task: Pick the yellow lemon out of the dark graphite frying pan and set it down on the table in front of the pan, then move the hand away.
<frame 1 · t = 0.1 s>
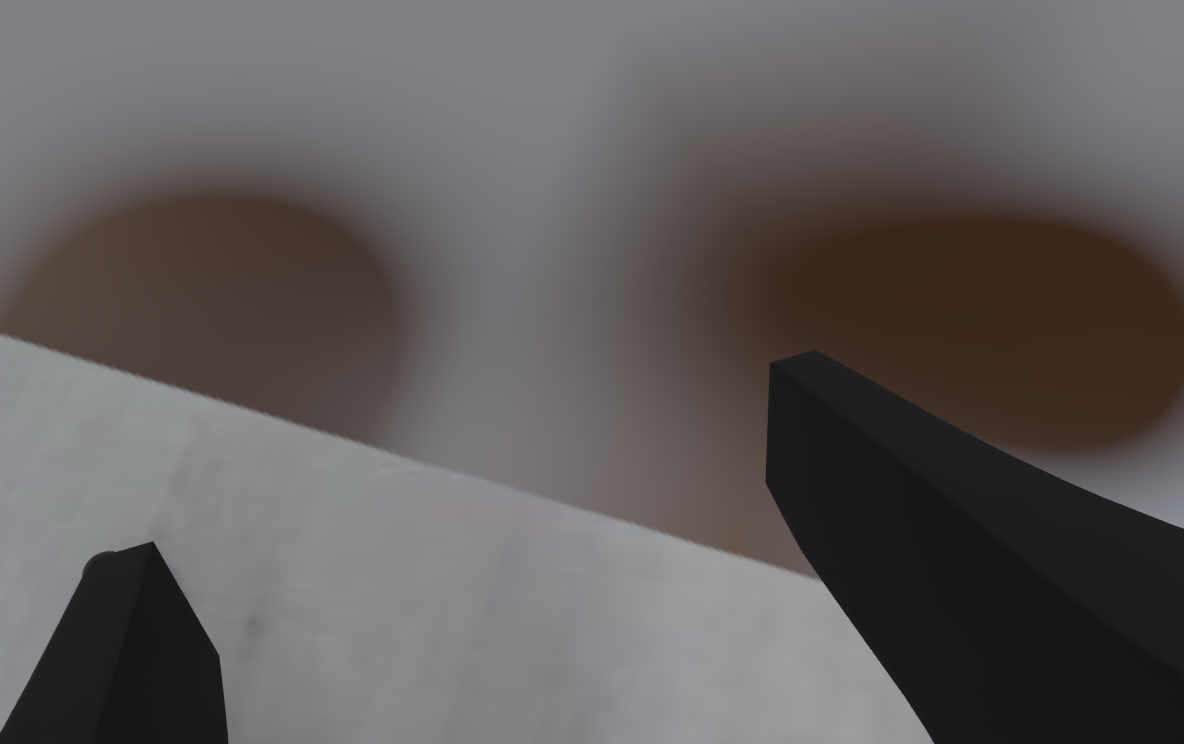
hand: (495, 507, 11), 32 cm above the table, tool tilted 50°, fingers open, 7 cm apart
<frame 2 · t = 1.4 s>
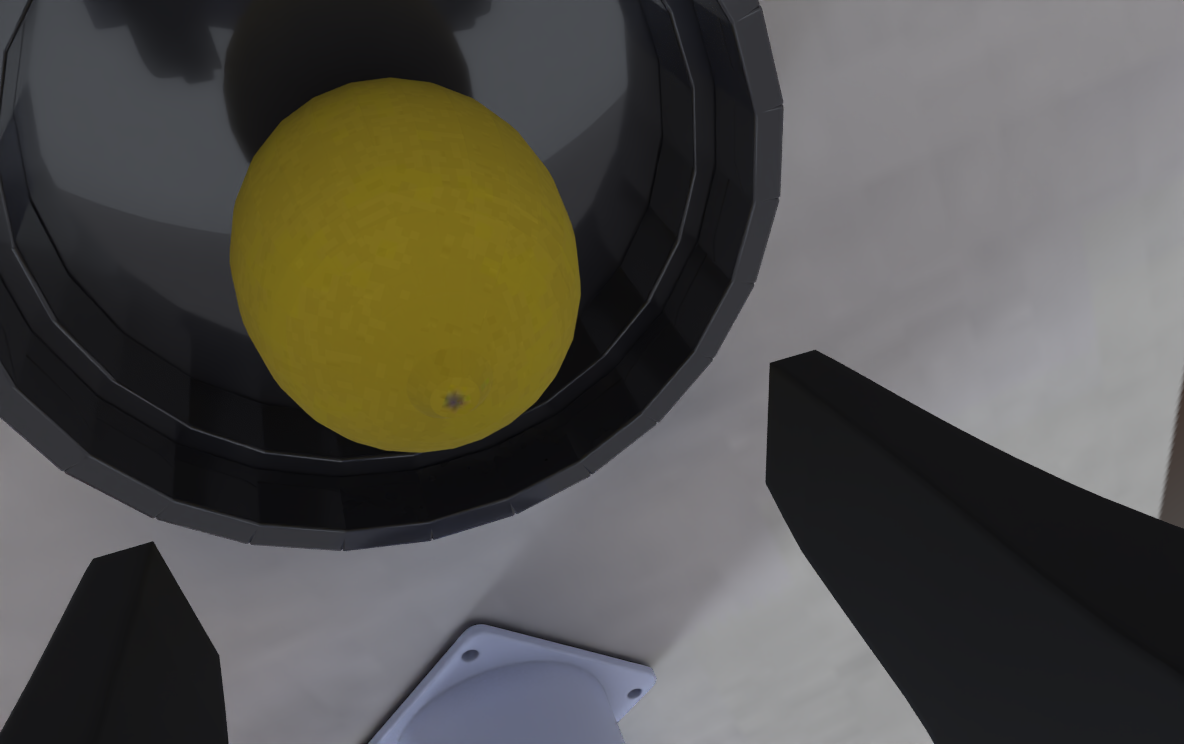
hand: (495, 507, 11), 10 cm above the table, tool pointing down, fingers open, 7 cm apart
pan: (372, 158, 19), on the table
lemon: (373, 160, 19), resting on pan
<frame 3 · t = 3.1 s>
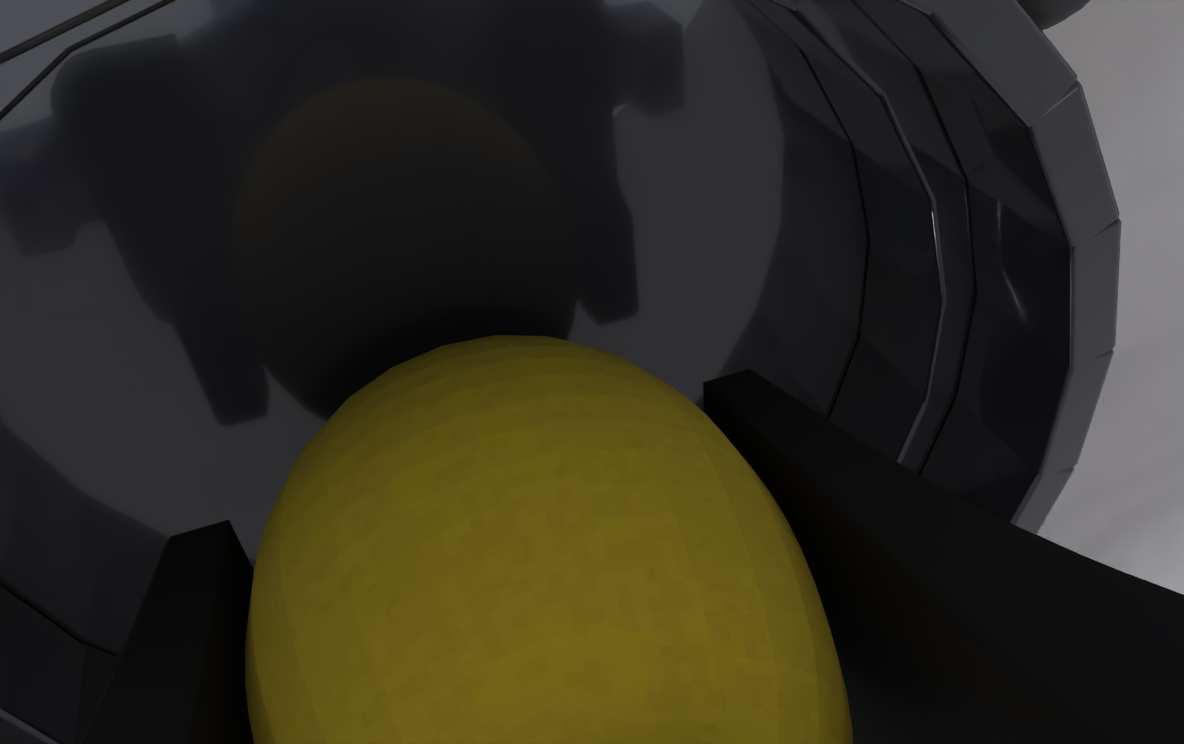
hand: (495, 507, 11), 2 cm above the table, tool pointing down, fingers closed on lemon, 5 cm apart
pan: (453, 387, 13), on the table
lemon: (453, 392, 13), resting on pan, touching gripper
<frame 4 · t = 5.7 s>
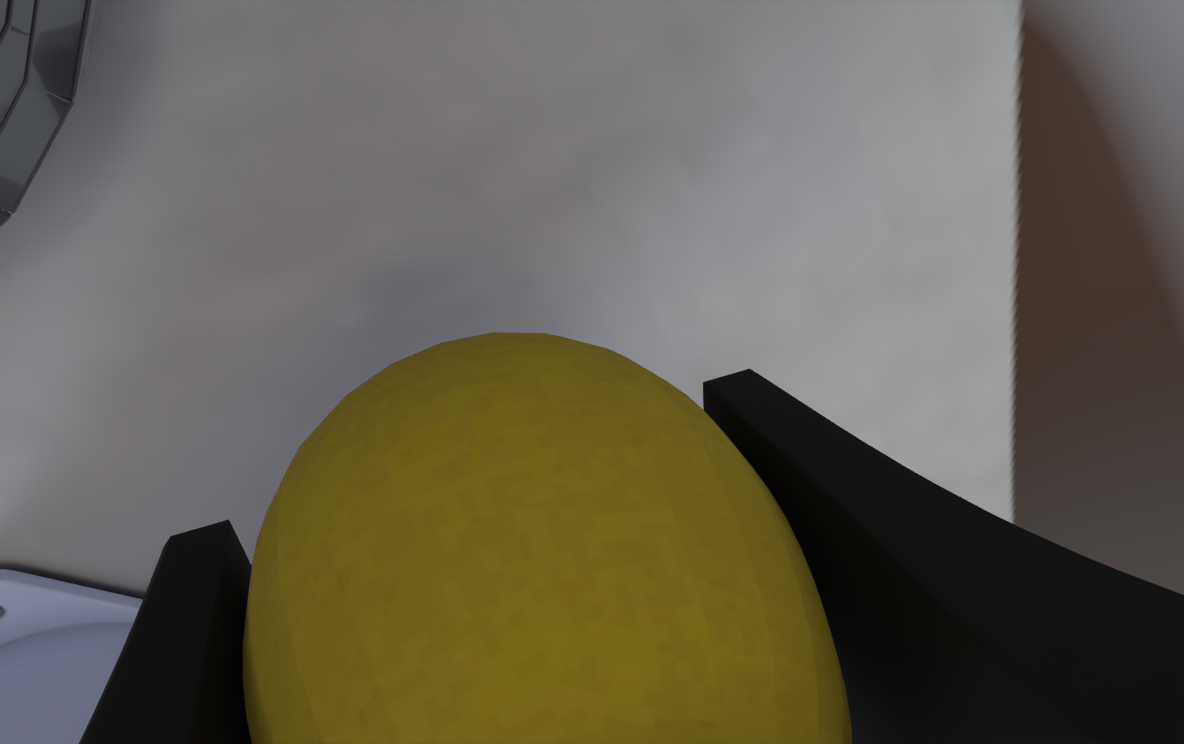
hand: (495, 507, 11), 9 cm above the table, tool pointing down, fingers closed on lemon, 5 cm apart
lemon: (452, 390, 13), point 7 cm above the table, touching gripper
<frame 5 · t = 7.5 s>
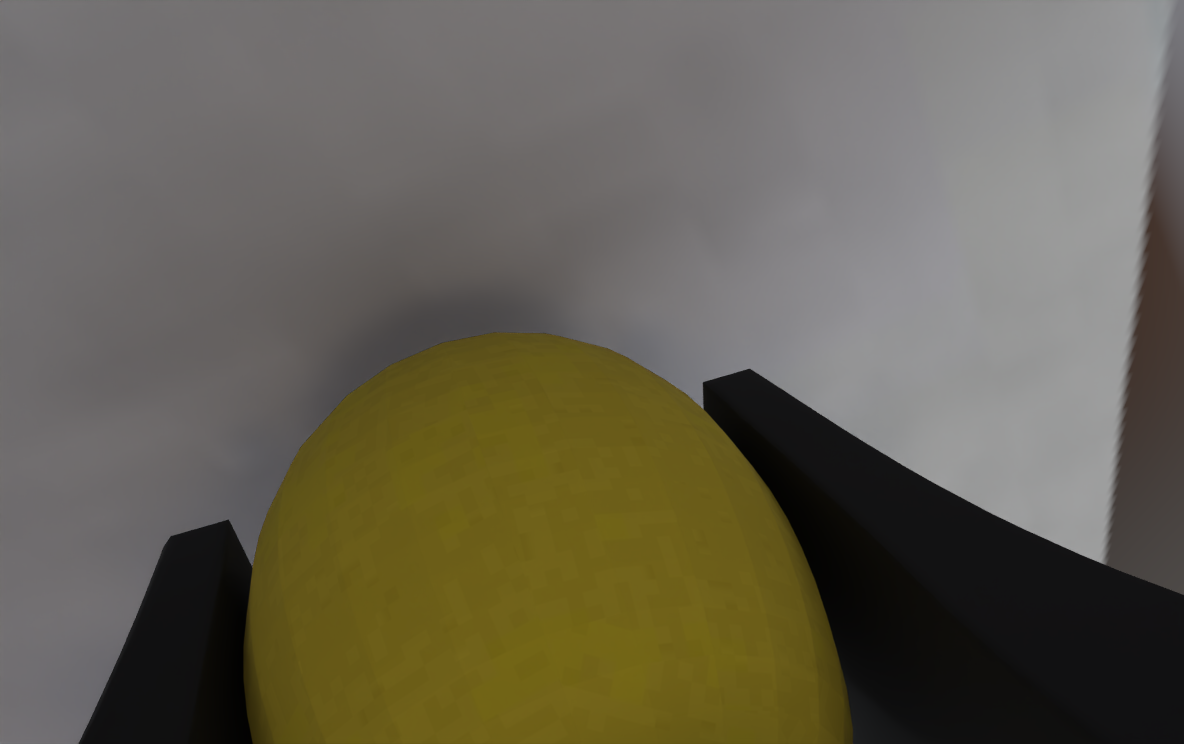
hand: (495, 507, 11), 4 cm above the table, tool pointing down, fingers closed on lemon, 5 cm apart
lemon: (452, 390, 13), point 1 cm above the table, touching gripper
when the fingers open (2 cm above the table, at t = 8.6 s): lemon stays where it is, on the table.
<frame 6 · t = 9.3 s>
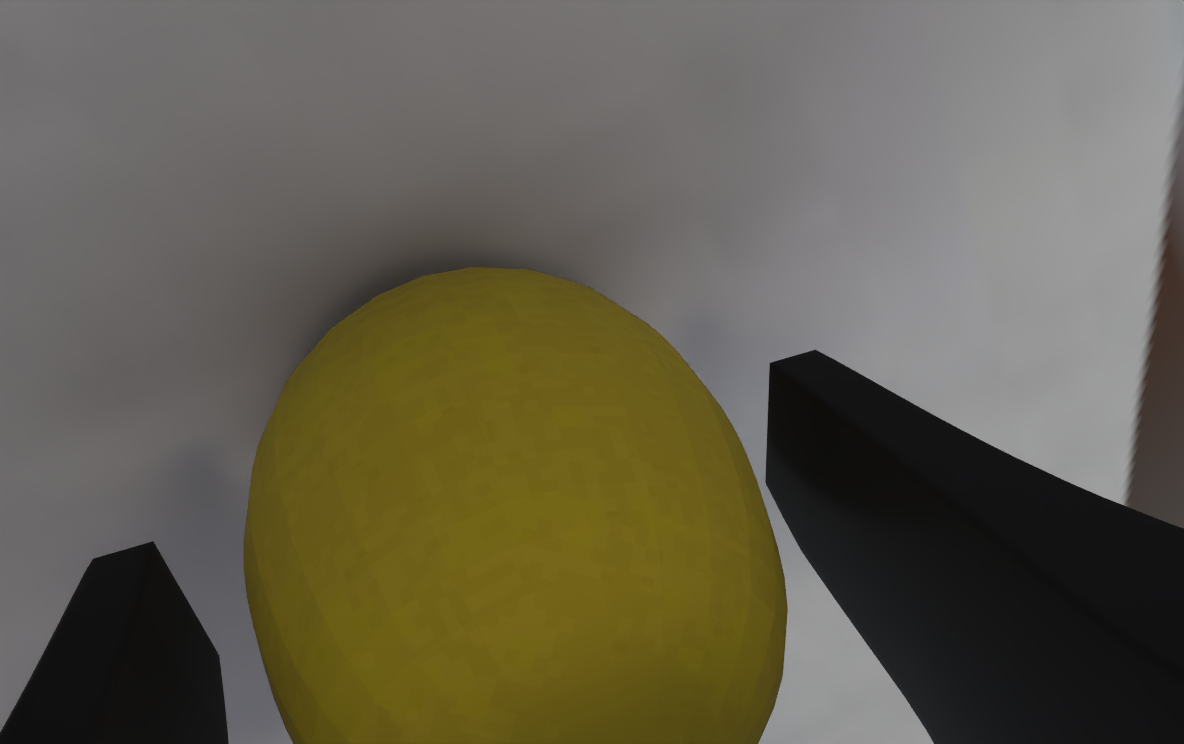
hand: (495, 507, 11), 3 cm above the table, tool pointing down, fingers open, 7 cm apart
lemon: (438, 334, 14), on the table
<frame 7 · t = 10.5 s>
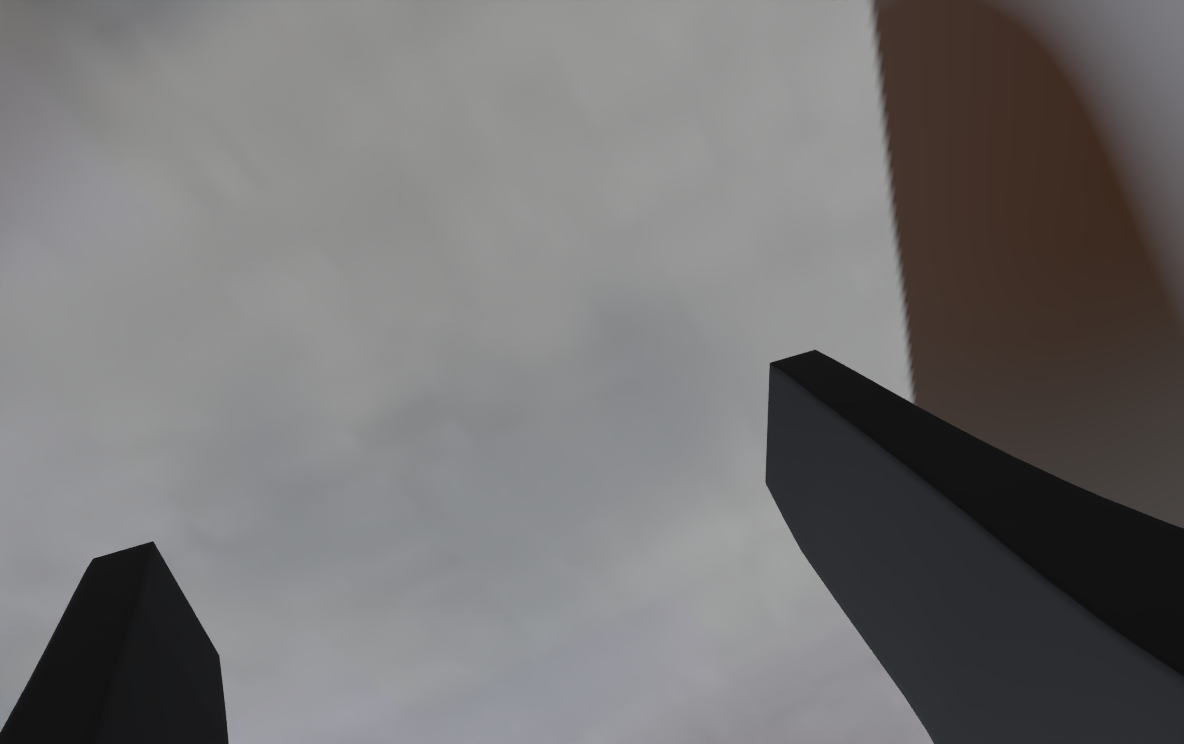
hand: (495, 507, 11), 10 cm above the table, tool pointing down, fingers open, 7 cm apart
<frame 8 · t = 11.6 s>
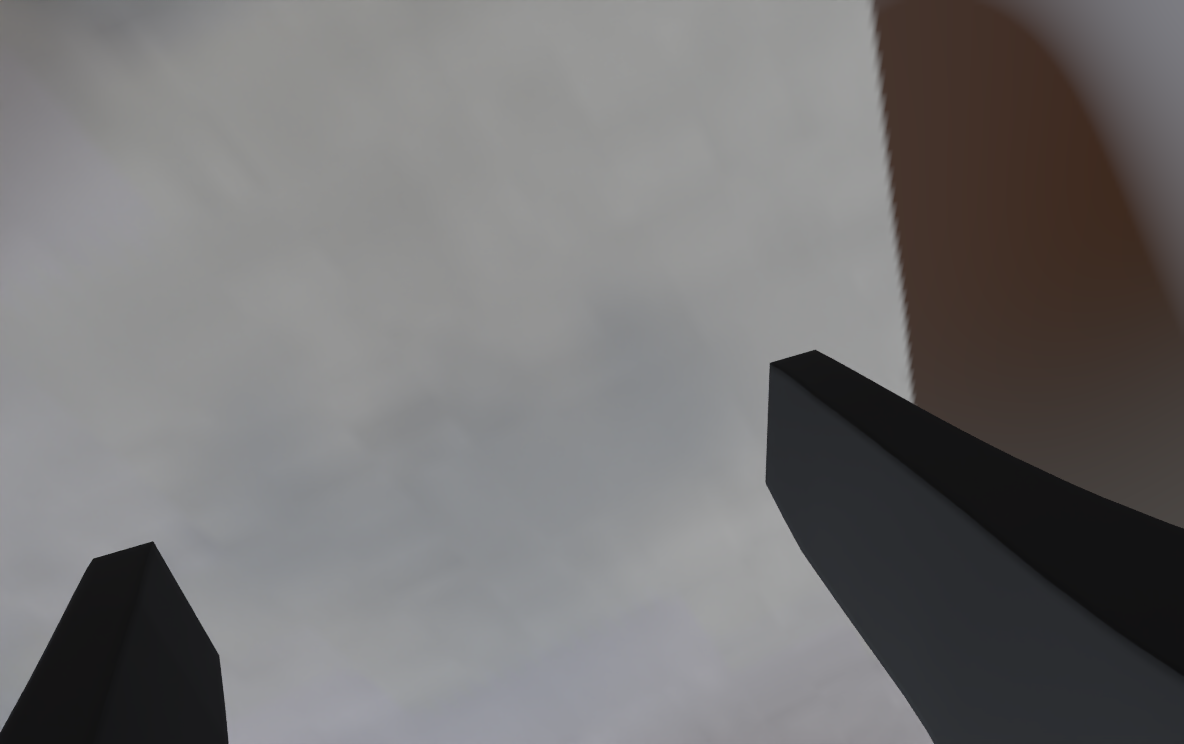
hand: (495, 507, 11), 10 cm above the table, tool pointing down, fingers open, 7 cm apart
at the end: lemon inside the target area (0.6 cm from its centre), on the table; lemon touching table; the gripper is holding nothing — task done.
